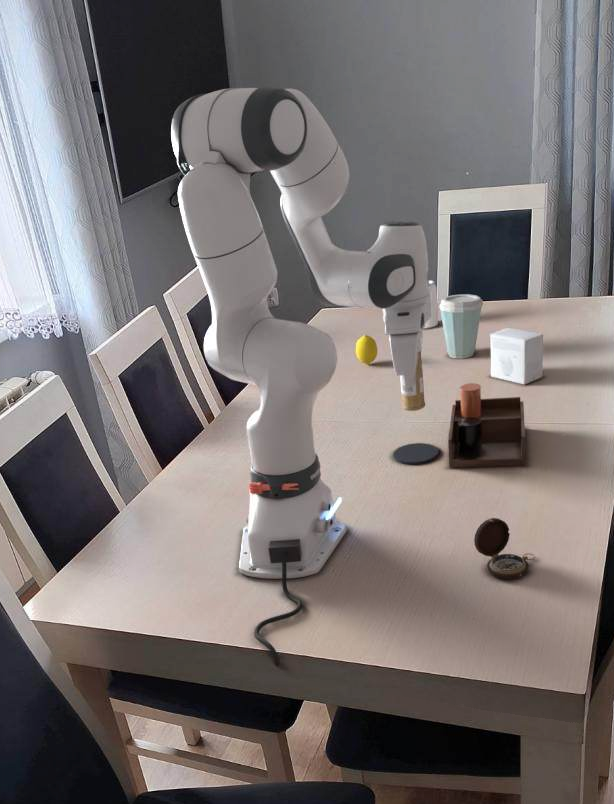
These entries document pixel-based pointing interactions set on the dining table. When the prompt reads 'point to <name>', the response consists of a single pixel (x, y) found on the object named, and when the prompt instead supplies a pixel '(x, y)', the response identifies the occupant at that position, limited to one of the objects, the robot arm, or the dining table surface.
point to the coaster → (415, 453)
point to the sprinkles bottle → (414, 388)
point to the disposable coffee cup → (461, 323)
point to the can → (432, 306)
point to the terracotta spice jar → (470, 400)
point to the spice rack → (492, 430)
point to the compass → (499, 550)
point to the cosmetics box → (516, 355)
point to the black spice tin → (470, 437)
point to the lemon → (366, 349)
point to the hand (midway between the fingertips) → (411, 380)
